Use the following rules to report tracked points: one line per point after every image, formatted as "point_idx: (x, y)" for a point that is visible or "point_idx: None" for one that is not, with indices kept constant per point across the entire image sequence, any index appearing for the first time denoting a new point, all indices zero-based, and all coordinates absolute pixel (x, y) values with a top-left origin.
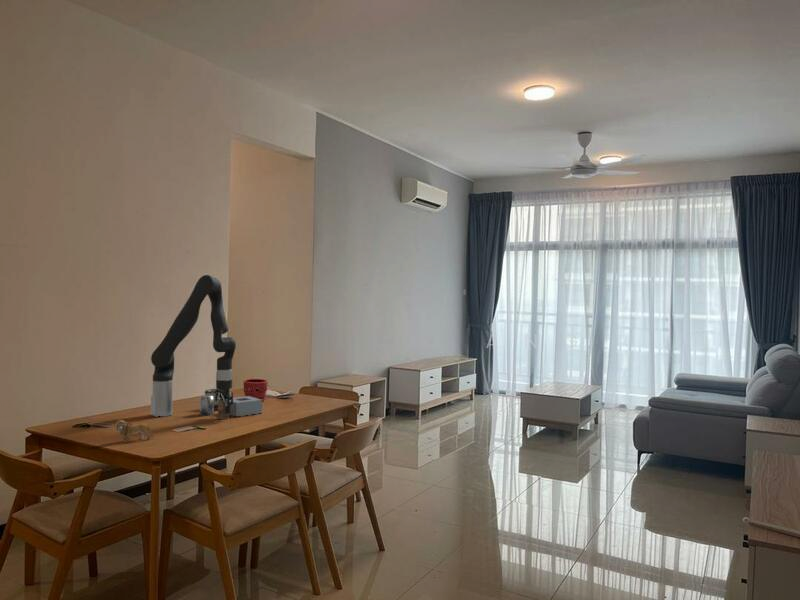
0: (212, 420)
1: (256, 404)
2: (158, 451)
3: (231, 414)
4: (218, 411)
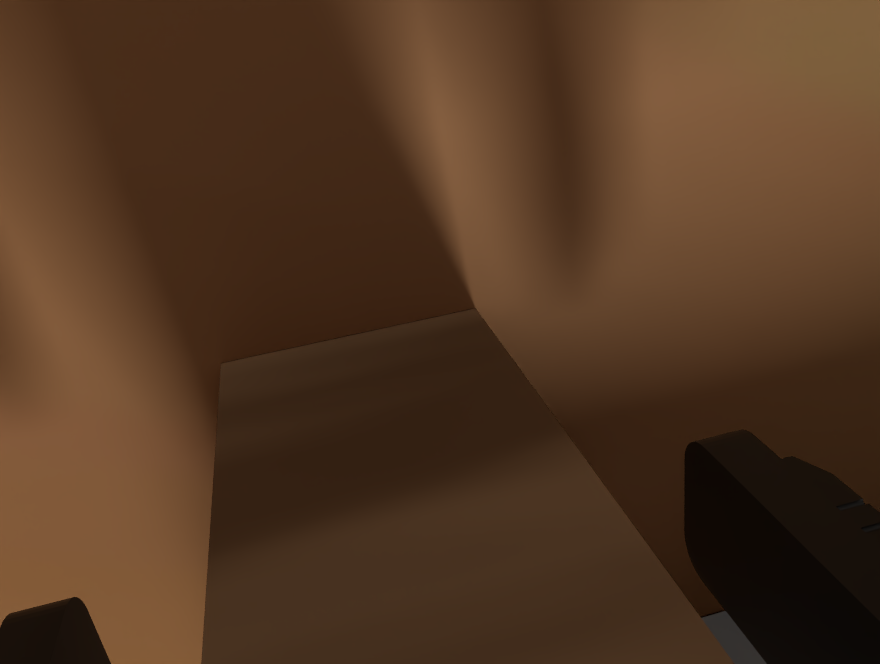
0: (222, 59)
1: None
2: None
3: None
4: (529, 416)
